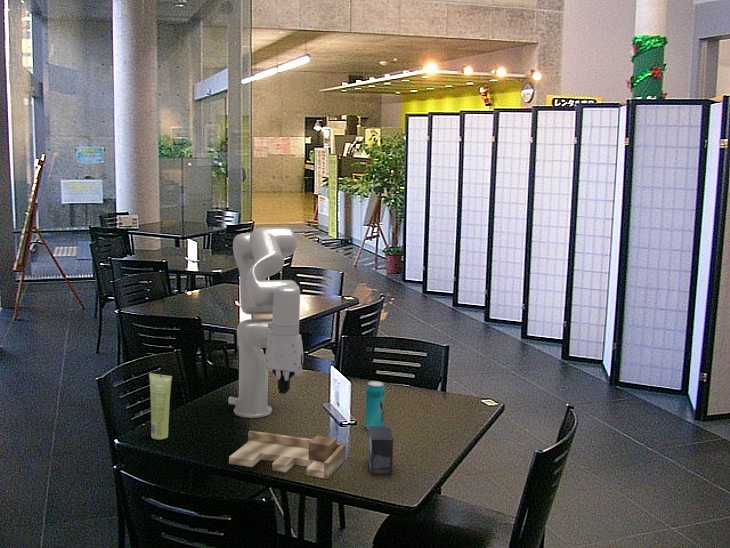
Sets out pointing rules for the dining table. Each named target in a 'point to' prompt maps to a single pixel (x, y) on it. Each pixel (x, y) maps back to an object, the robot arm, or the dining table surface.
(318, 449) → the walnut block
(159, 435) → the tube
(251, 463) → the trap tray
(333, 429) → the dining table surface
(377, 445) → the small box
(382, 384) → the beverage can
